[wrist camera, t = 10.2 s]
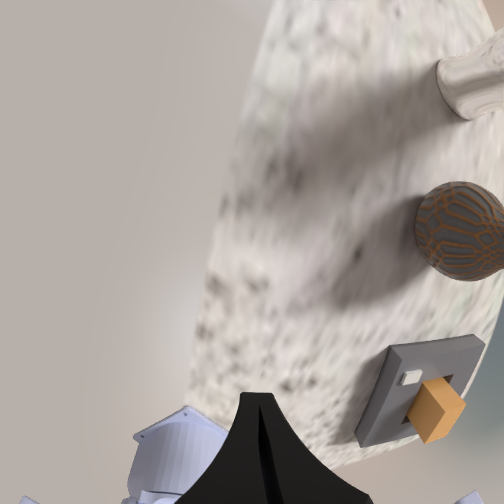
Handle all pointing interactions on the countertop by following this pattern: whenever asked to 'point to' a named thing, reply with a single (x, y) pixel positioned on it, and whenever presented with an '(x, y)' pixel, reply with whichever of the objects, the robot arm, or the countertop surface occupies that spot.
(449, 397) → the plug
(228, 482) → the robot arm
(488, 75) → the metal tumbler
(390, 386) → the socket
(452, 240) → the vase
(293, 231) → the countertop surface
